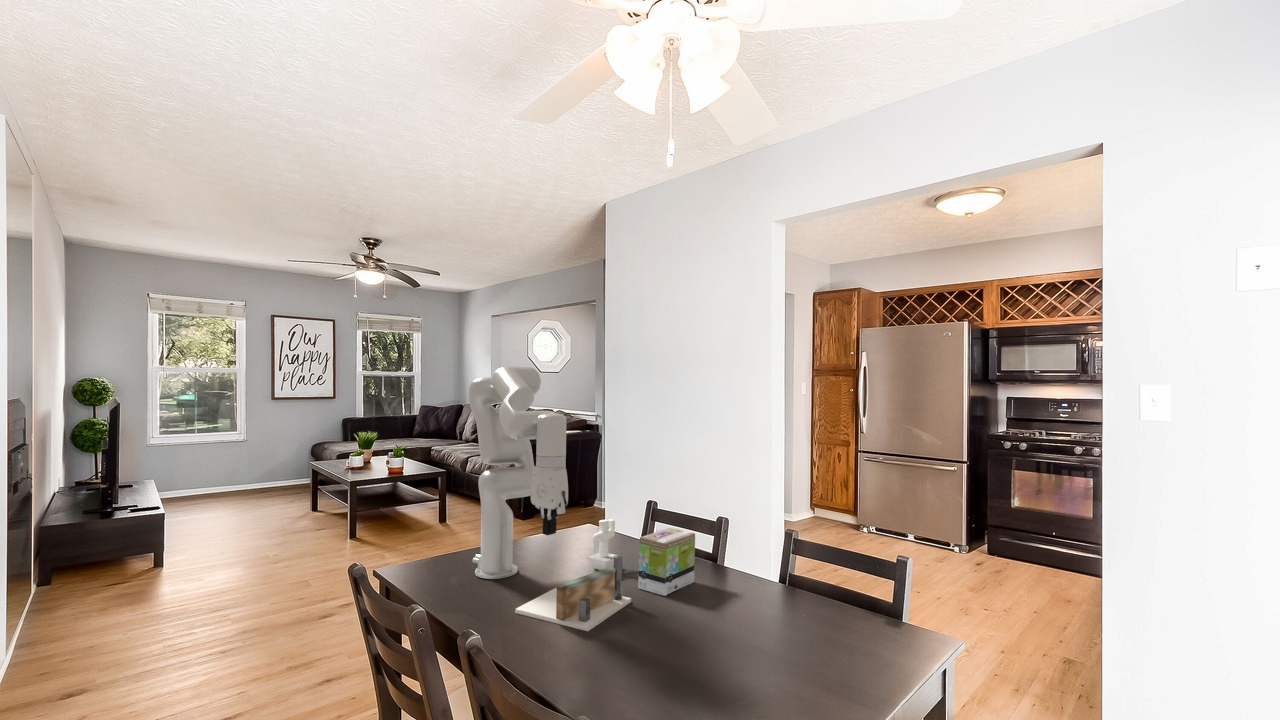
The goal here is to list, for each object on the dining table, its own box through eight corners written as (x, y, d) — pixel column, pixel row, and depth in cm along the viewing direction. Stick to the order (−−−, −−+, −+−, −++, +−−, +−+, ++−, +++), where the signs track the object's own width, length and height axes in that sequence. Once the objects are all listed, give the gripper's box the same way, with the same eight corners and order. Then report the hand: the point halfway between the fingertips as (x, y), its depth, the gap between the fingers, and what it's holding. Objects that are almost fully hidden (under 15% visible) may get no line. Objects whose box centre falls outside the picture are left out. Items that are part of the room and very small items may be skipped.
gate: (609, 597, 158) (610, 567, 158) (615, 599, 156) (615, 569, 157) (556, 618, 144) (556, 585, 144) (561, 620, 142) (562, 587, 143)
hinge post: (577, 624, 144) (578, 574, 144) (615, 599, 160) (616, 555, 160) (586, 626, 143) (586, 576, 143) (623, 601, 159) (624, 556, 159)
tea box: (666, 597, 162) (666, 543, 163) (637, 589, 169) (637, 536, 169) (695, 582, 174) (695, 531, 175) (667, 575, 180) (667, 526, 181)
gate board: (515, 612, 151) (515, 608, 151) (563, 587, 169) (563, 583, 169) (587, 631, 140) (587, 627, 140) (630, 601, 159) (631, 598, 159)
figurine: (584, 569, 185) (585, 521, 185) (603, 562, 192) (604, 515, 193) (603, 574, 180) (603, 524, 181) (621, 566, 188) (622, 518, 189)
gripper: (521, 460, 154) (519, 530, 154) (558, 467, 144) (556, 543, 144) (544, 457, 160) (542, 525, 160) (581, 464, 150) (579, 536, 150)
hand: (549, 533), depth 152 cm, fingers closed
